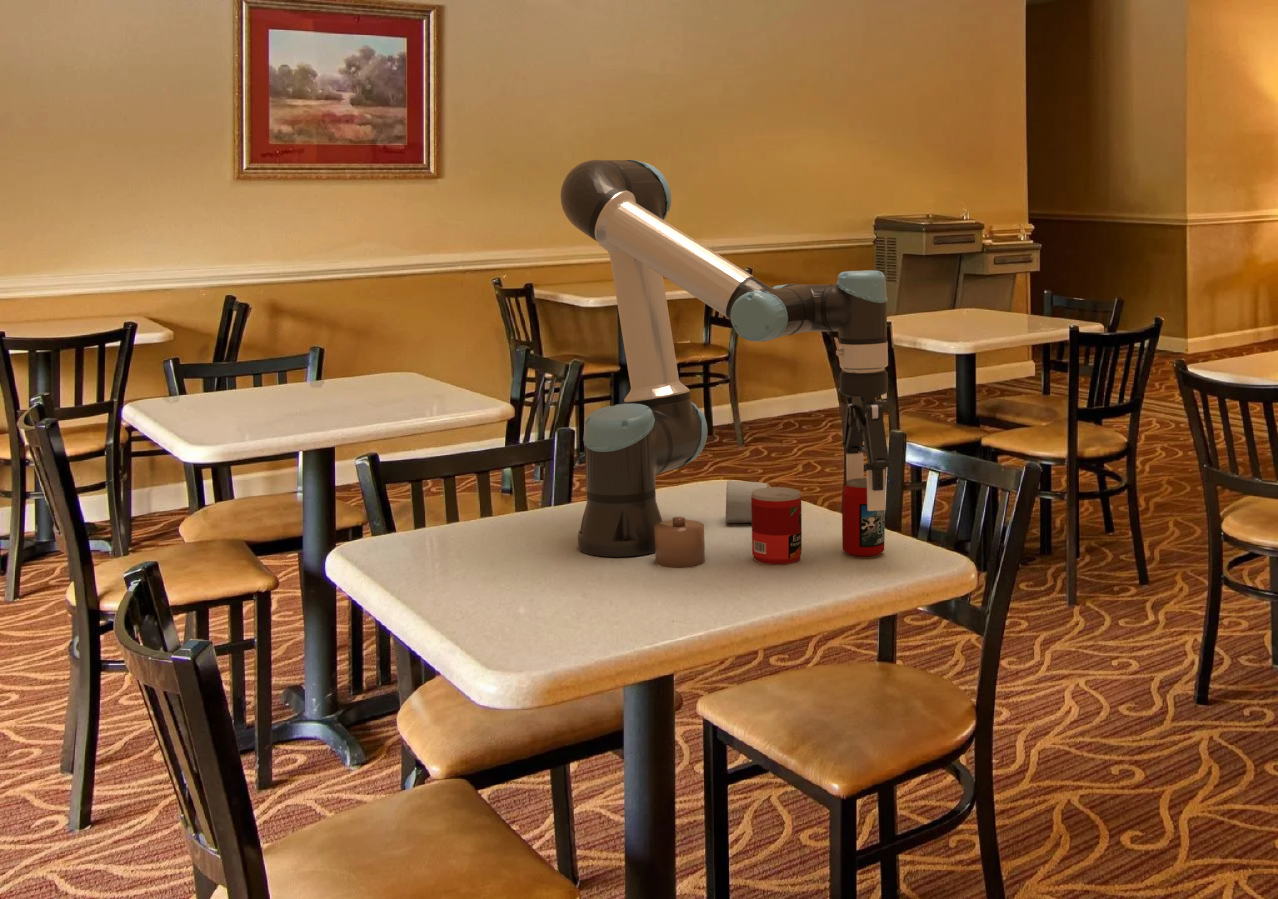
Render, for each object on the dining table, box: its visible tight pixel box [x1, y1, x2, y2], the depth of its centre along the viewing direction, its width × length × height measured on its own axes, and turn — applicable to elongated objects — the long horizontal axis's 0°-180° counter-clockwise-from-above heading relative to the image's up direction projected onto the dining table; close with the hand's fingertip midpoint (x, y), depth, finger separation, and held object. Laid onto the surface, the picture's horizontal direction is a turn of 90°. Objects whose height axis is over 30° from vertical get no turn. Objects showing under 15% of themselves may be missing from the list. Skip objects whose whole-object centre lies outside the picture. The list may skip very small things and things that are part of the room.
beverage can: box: [841, 477, 886, 559], centre depth 212 cm, size 7×7×12 cm
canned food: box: [751, 486, 803, 565], centre depth 211 cm, size 8×8×11 cm
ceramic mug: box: [725, 479, 772, 524], centre depth 238 cm, size 11×8×8 cm
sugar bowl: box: [654, 516, 706, 569], centre depth 212 cm, size 8×8×7 cm
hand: (865, 501), depth 211 cm, fingers open, 13 cm apart
